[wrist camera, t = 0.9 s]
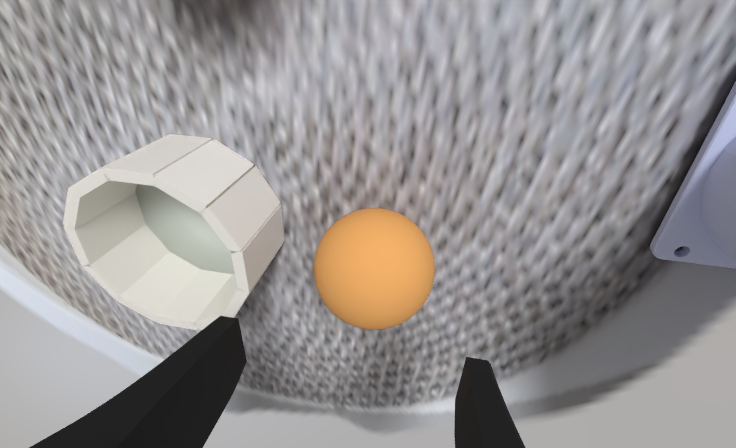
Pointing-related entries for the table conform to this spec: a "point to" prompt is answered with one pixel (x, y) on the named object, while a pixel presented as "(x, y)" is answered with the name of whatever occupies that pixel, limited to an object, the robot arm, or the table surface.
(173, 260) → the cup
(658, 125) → the table surface
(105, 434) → the robot arm
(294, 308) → the table surface
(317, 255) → the ball
